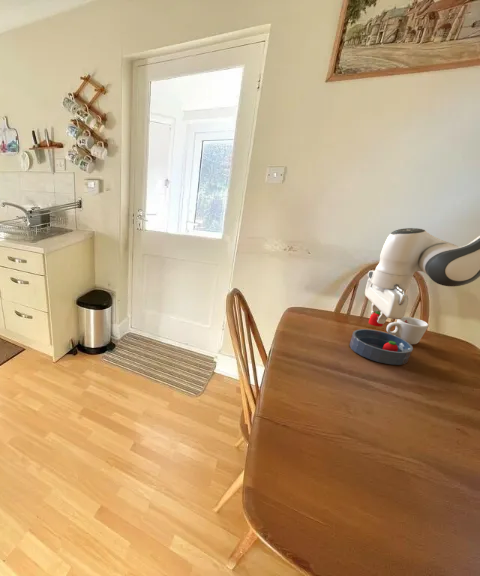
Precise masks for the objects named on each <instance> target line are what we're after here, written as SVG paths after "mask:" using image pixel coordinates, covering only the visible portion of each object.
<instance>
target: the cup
mask: <svg viewBox="0 0 480 576" xmlns="http://www.w3.org/2000/svg"><path fill="white" fill-rule="evenodd" d="M393 326H395V329H394V330H392V331H391V328H392V327H393ZM428 328H429V324H428V322H426V321H425V320H422V319H420V318H416V317H412V316H405V315H404V317H403V318H402V319H396V321H392V322H389V323H388V324H387V325H386V329H385V330H386V333H389V334H392V335H395V336H397V337H399V338H402V339H404V340H405V341H407V342H408V343H410V344H411V345H417V344H418V343H420V342H421V340H422V338H423V336H424V335H425V333H426V331H427V329H428Z"/></svg>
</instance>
